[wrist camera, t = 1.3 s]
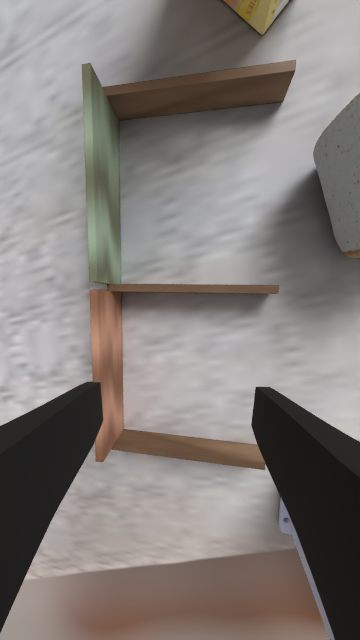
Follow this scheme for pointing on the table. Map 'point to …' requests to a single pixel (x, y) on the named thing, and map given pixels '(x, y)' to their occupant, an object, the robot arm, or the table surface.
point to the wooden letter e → (105, 240)
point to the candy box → (258, 11)
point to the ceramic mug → (342, 176)
